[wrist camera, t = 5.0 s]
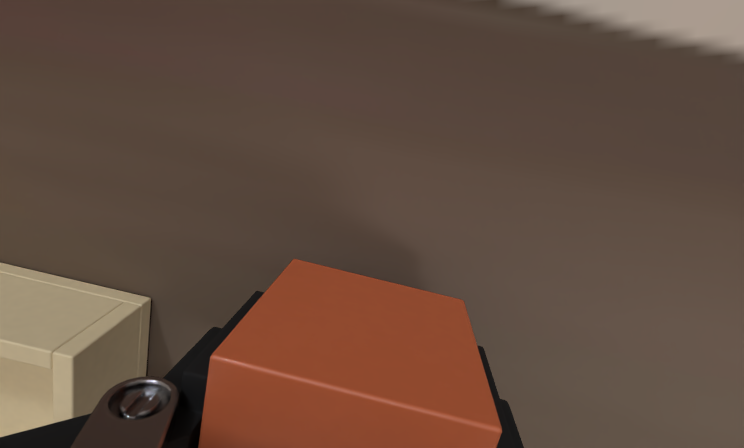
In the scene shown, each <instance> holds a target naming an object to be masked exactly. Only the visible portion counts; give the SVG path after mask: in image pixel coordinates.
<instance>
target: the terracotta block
mask: <svg viewBox="0 0 744 448" xmlns="http://www.w3.org/2000/svg"><path fill="white" fill-rule="evenodd" d="M501 433H502V427H501V424H500V421H499V417H498V414H497V411H496V407H495V404H494V401H493V397H492V394H491V391H490V387H489V384H488V380H487V377H486V374H485V370H484V367H483V364H482V360H481V357H480V354H479V350H478V347H477V344H476V340H475V337H474V334H473V330H472V327H471V324H470V320H469V317H468V314H467V310H466V307H465V303H464V301H463V300H461V299H456V298H452V297H448V296H444V295H440V294H436V293H432V292H428V291H424V290H420V289H416V288H412V287H408V286H403V285H399V284H395V283H391V282H387V281H383V280H379V279H375V278H371V277H367V276H363V275H359V274H354V273H350V272H346V271H342V270H338V269H334V268H330V267H326V266H322V265H318V264H314V263H310V262H306V261H301V260H297V259H293V260H292V261H291V262H290V264H289V265H288V266H287V267H286V268H285V269H284V271H283V272H282V273H281V274H280V275H279V276H278V278H277V279H276V280H275V281H274V282H273V283H272V285H271V286H270V287H269V288H268V289H267V290H266V292H265V293H264V294H263V295H262V296H261V297H260V299H259V300H258V301H257V302H256V303H255V304H254V306H253V307H252V308H251V309H250V310H249V312H248V313H247V314H246V315H245V316H244V317H243V319H242V320H241V321H240V322H239V323H238V324H237V326H236V327H235V328H234V329H233V330H232V331H231V333H230V334H229V335H228V336H227V337H226V338H225V340H224V341H223V342H222V343H221V344H220V345H219V347H218V348H217V349H216V350H215V351H214V352H213V354H212V355H211V356H210V362H209V370H208V377H207V385H206V393H205V400H204V408H203V415H202V423H201V431H200V438H199V446H198V448H496V447H497V444H498V442H499V439H500V436H501Z"/></svg>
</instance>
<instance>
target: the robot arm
mask: <svg viewBox="0 0 744 448" xmlns="http://www.w3.org/2000/svg"><path fill="white" fill-rule="evenodd" d="M263 294H264V292H260V291H256V292H255V293H254V294H253V295H252V296H251V298H250V299H249V300H248V301H247V302H246V303H245V304H244V305H243V306H242V307H241V309H240V310H239V311H238V312H237V313H236V314H235V315H234V316H233V317H232V318H231V320H230V321H229V322H228V323H227V324H226V325H225V326H224V327H223V328H222V329H221V328H217V327H213V328H212V329H210V330H209V331H208V332H207V333H206V334H205V335H204V336H203V337H202V338H201V340H200V341H199V342H198V343H197V344H196V345H195V346H194V347H193V348H192V349H191V350H190V351H189V352H188V353H187V354H186V355H185V356H184V357H183V358H182V359H181V360H180V361H179V362H178V363H177V364H176V365H175V366H174V368H173V369H172V370H171V371H170V372H169V373H168V374H167V375H166V376H165V377H164V378H159V377H153V376H147V377H137V378H132V379H128V380H126V381H123V382H121V383H118V384H116V385H115V386H113V387H112V388H110V389H109V390H108V391H107V392H106V393H105V394H104V395H103V396H102V397H101V399H100V401H99V402H98V404H97V405H96V407H95V409H94V410H93V412H92V413H91V414H87V415H83V416H79V417H75V418H72V419H68V420H64V421H60V422H56V423H53V424H49V425H45V426H41V427H37V428H34V429H30V430H26V431H22V432H18V433H15V434H11V435H7V436H3V437H0V448H198V446H199V438H200V431H201V423H202V415H203V408H204V400H205V393H206V385H207V377H208V370H209V362H210V356H211V355H212V354H213V352H214V351H215V350H216V349H217V348H218V347H219V345H220V344H221V343H222V342H223V341H224V340H225V338H226V337H227V336H228V335H229V334H230V333H231V331H232V330H233V329H234V328H235V327H236V326H237V324H238V323H239V322H240V321H241V320H242V319H243V317H244V316H245V315H246V314H247V313H248V312H249V310H250V309H251V308H252V307H253V306H254V304H255V303H256V302H257V301H258V300H259V299H260V297H261V296H262V295H263ZM477 347H478V350H479V354H480V357H481V360H482V364H483V367H484V370H485V374H486V377H487V380H488V384H489V387H490V391H491V394H492V397H493V401H494V404H495V407H496V411H497V414H498V417H499V421H500V424H501V427H502V433H501V436H500V439H499V442H498V444H497V447H496V448H524V447H523V444H522V441H521V438H520V435H519V432H518V430H517V427H516V424H515V421H514V418H513V415H512V412H511V409H510V407H509V404H508V402H507V401H505V400H502V399H500V398H499V395H498V392H497V389H496V386H495V382H494V379H493V376H492V373H491V370H490V367H489V364H488V361H487V358H486V355H485V351H484V349H483V347H481V346H477Z"/></svg>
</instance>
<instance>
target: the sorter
mask: <svg viewBox="0 0 744 448" xmlns="http://www.w3.org/2000/svg"><path fill="white" fill-rule="evenodd" d="M150 308H151V298H149V297H145V296H140V295H136V294H132V293H128V292H123V291H119V290H115V289H111V288H106V287H102V286H98V285H94V284H89V283H85V282H81V281H77V280H72V279H68V278H64V277H60V276H56V275H51V274H47V273H43V272H39V271H34V270H30V269H26V268H22V267H17V266H13V265H9V264H5V263H0V437H3V436H7V435H11V434H15V433H18V432H22V431H26V430H30V429H34V428H37V427H41V426H45V425H49V424H53V423H56V422H60V421H64V420H68V419H72V418H75V417H79V416H83V415H87V414H91V413H92V412H93V410H94V409H95V407H96V405H97V404H98V402H99V401H100V399H101V397H102V396H103V395H104V394H105V393H106V392H107V391H108V390H109V389H110V388H112V387H113V386H115V385H116V384H118V383H121V382H123V381H126V380H128V379H132V378H137V377H146V368H147V353H148V338H149V323H150Z"/></svg>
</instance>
